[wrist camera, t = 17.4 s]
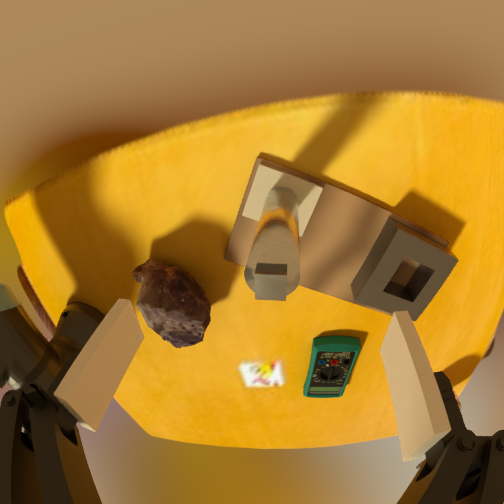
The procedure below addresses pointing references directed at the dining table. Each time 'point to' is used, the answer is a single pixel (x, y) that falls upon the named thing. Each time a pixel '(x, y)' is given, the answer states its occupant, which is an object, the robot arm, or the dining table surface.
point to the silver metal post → (275, 248)
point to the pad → (276, 178)
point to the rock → (172, 303)
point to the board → (329, 238)
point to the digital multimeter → (330, 366)
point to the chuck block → (388, 260)
